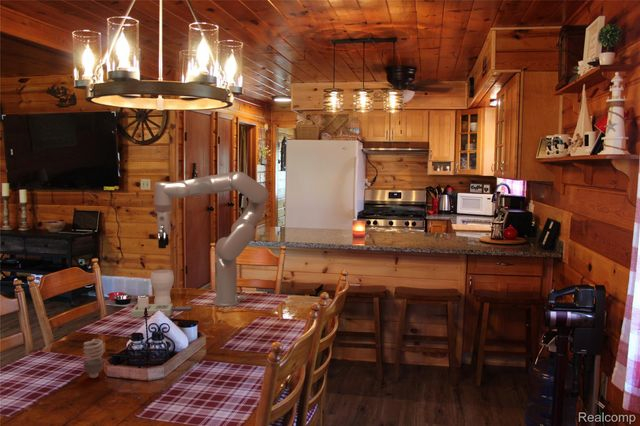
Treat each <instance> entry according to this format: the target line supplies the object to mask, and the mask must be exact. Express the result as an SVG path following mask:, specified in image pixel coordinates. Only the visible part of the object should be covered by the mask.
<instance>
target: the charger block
mask: <svg viewBox="0 0 640 426" xmlns="http://www.w3.org/2000/svg"><path fill="white" fill-rule="evenodd" d="M149 301H150V300H149V296H138V297H137V304H138V310H144V308H145V307H147V309H149V304H150V303H149Z"/></svg>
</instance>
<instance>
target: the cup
mask: <svg viewBox="0 0 640 426" xmlns="http://www.w3.org/2000/svg"><path fill="white" fill-rule="evenodd" d="M174 281H175V275H174V271H173V270H172V269H156V270H153V271H151V273H150V284H151V286H152V289H153V291H154V301H153V304H171V303H172V300H171V290H172V287H173V285H174Z"/></svg>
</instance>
